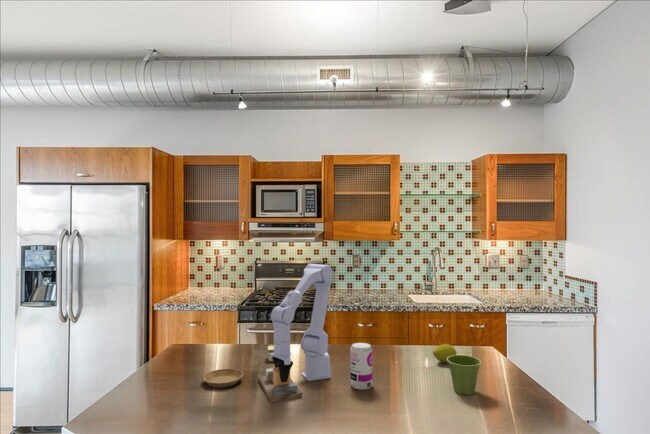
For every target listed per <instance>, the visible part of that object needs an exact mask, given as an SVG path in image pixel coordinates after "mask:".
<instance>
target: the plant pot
mask: <svg viewBox="0 0 650 434" xmlns="http://www.w3.org/2000/svg"><path fill="white" fill-rule="evenodd" d="M447 361H448V363H447V364H448V366H449V370H450V375H451V380H452V381H451V382H452V385H453V387H452V388H453V390H454V391H453V392H455V393H457V394H459V395H465V396H471V395H475V393H476V387H477V380H478V374H479V371H480V365H482V361H481V359H479V358H477V357H476V356H471V355H468V354H456V355H452V356H449V357H447Z"/></svg>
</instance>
